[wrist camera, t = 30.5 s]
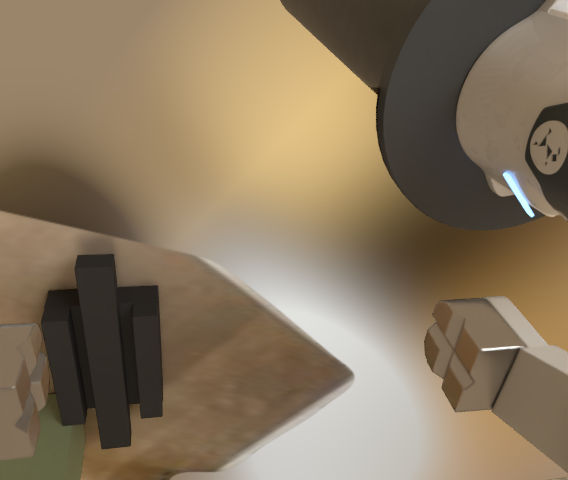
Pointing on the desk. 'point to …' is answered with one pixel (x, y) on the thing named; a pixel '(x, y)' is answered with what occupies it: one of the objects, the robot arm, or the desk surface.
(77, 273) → the pad strip
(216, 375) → the desk surface
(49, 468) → the stand
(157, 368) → the dock pad
